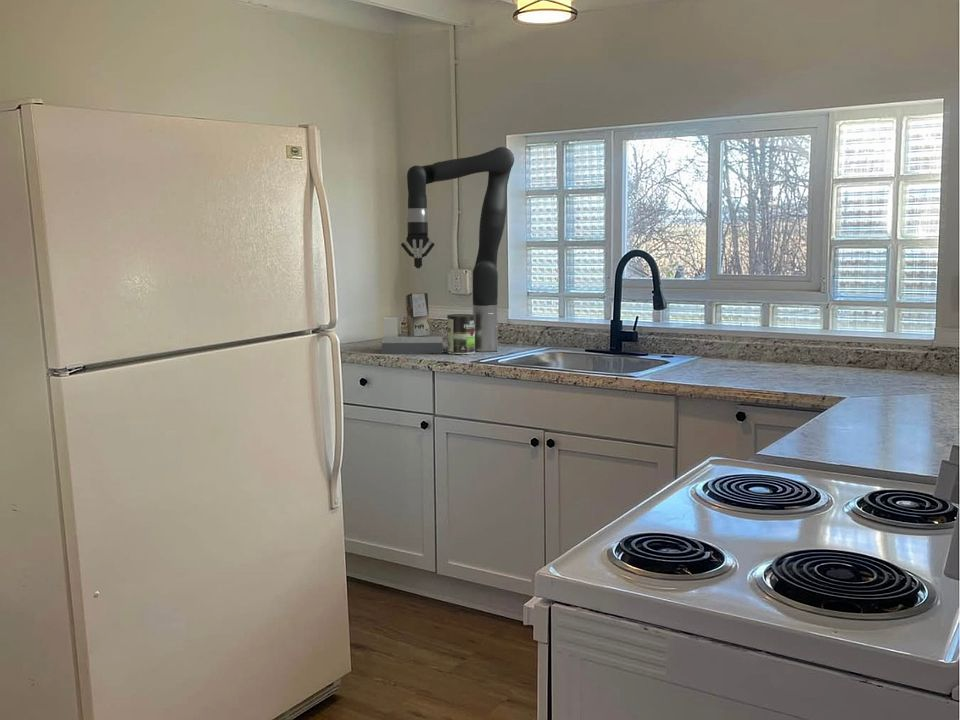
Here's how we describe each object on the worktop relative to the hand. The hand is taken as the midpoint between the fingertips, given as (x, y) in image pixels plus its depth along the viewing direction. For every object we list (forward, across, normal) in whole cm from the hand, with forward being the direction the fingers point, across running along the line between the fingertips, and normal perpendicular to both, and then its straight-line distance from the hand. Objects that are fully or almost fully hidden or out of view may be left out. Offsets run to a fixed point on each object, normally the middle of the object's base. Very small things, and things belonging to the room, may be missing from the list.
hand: (418, 268), depth 336 cm
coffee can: (+31, -16, +7) cm, 36 cm away
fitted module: (+26, +10, +2) cm, 28 cm away
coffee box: (+26, 0, +2) cm, 26 cm away
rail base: (+31, +2, +2) cm, 31 cm away
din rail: (+27, +2, +2) cm, 27 cm away
